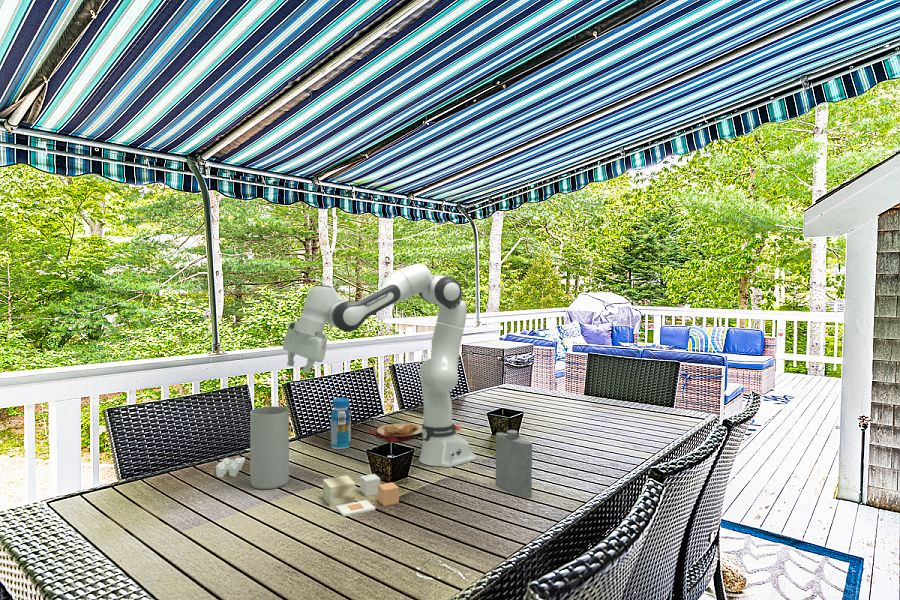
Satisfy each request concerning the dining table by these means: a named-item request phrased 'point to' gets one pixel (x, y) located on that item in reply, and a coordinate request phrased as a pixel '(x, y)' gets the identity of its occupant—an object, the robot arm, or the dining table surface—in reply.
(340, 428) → the beverage bottle
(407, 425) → the plate with food
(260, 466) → the cylinder vase
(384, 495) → the terracotta cube
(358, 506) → the card
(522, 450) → the hip flask
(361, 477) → the grey cube
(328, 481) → the birch block
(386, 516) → the dining table surface
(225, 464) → the modular blocks
